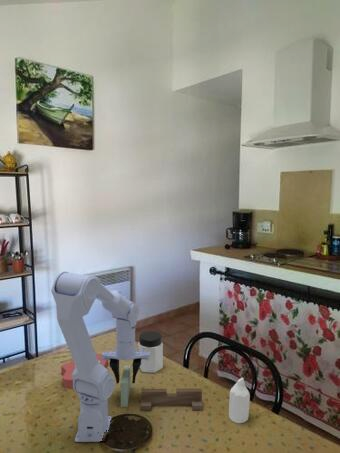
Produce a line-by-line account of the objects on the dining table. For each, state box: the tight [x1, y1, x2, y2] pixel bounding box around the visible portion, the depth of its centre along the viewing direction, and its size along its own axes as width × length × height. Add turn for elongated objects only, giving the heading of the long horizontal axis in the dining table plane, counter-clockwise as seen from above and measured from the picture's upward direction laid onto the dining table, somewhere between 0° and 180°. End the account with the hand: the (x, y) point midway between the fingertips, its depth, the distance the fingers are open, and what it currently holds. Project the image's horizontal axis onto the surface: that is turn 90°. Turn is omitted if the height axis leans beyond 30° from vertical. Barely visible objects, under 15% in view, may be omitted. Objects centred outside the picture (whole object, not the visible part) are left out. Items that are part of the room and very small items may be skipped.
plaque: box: [60, 353, 109, 389], centre depth 119 cm, size 18×4×15 cm
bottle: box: [228, 377, 251, 424], centre depth 96 cm, size 6×12×6 cm
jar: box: [137, 330, 164, 374], centre depth 123 cm, size 9×8×12 cm
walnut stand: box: [140, 388, 204, 412], centre depth 102 cm, size 6×18×4 cm, turn 91°
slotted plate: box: [120, 365, 132, 408], centre depth 105 cm, size 10×2×8 cm, turn 1°
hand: (125, 381), depth 105 cm, fingers open, 4 cm apart
